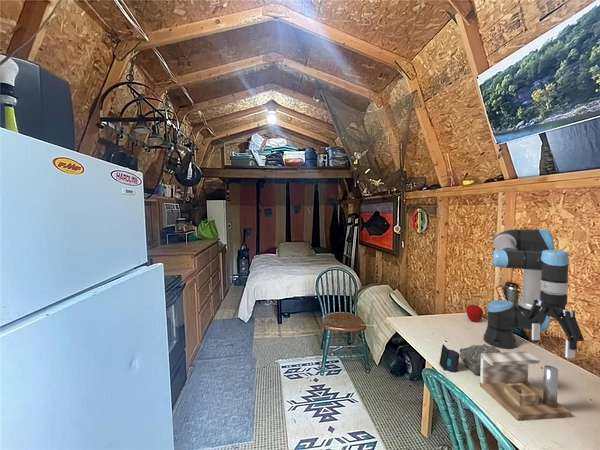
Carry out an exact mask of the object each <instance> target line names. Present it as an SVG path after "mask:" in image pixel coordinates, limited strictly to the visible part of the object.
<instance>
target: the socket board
mask: <svg viewBox="0 0 600 450" xmlns="http://www.w3.org/2000/svg"><path fill="white" fill-rule="evenodd" d="M533 364H535V365H536V364H540V359H539V358H537V357H535V356H534V355H532V354H531V353H529V352H528V351H507V352H501V353H483V354H481V371H480V374H479V375H480V378H479V379H480V381H479V387H480V388H481V389H483V390H484V391H485V392H486V393H487V394H488V395H489V396H490V397H491V398H492V399H494V400H495V402H497V403H498V404H499V405H500V406H501V407H502V408H503V409H504V410H506V412H508V413H509V414H510V415H511V416H512V417H513V418H514V419H516V420H517V421H519V422H520V421H530V420H531V421H533V420H548V419H550V420H551V419H564V418H571V411H570V410H568V409H567V408H566V407H564V406H563V405H562V404H560V403H559V402H557V407H556V408H552V407H549V406H547V405H545V404H544V403H543V391H542V390H540V389H539V388H537V387H536V386H535V385H533V384H532V383H531V382H529V365H533Z"/></svg>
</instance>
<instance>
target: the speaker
mask: <svg viewBox="0 0 600 450" xmlns="http://www.w3.org/2000/svg"><path fill="white" fill-rule="evenodd" d="M440 351H441V352H440V357H439V366H440V367H441V368H442V370H443V371H446V370H448V371H449V372H454V373H455V372H457V371H458V366H459V362H460V361H459V360H460V354H461V353H460V352H457V351H456V350H453V349H449V348H447V346H445V344H442V345H441V350H440Z"/></svg>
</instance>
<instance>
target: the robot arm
mask: <svg viewBox="0 0 600 450" xmlns="http://www.w3.org/2000/svg"><path fill="white" fill-rule="evenodd" d="M492 244H493V246H494V248H495V249H494V250H493V255H492V256H493V257H492V259H493V260H492V263H493V266H494V267H496V268H501V269H517V270H523V273H522V275H523V276H522V295H521V296H522V297H521V300H520V301H519V302H518V305H515V304H514V303H513V301H510V300H509V301H508V300H505V299H504V300H503V299H502V300H501V299H499V300H498V299H497V300H495V299H494V300H492V301H489V302H488V304H487V325H486V326H487V327H486V330H485V332H484V334H483V341H484V342H485V344H489V346H495V348H498V349H499V348H500V349H507V350H508V349H509V350H510V349H515V348H517V340H516V336H515V334H514V328H517V329H523V330H529V331H531V341H541V332H546V331H548V329H549V327H550V324H551V318H552V319H555V321H556V322H557V323H559V326H560V327H561V329H562V330H563V332H564V333H565V336H566V338H565V355H564V356H565V358H566V359H575V358H576V351H577V349H578V342H584V341H585V338H584V336H583V333H582V331H581V329H580V325H579V324H578V320H577V318H576V312H575V311H574V310H567V309H566V306H567V305H568V295H567V294H568V292H569V290H568V289H569V288H568V287H569V285H568V284H569V282H568V281H569V263H570V260H569V259H570V258H569V257H570V256H569V255H570V253H568V252H567V251H564V250H560V249H559V250H558V249H555V248H556V247H555V241H554V238H553V234H552V232H551V231H550V230H545V229H516V228H515V229H514V228H511V229H507V230H504V231H501V232H500V233H498V234H496V235H495V236H494V238H493V243H492Z"/></svg>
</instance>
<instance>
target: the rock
mask: <svg viewBox="0 0 600 450" xmlns="http://www.w3.org/2000/svg"><path fill="white" fill-rule="evenodd" d="M483 353H502V352H501V351H500V349H499V348H497V347H495V346H492V345H487V343H485V344H481V345H480V344H479V345H475V344H474V345H469V346H468V347H465V348H464V347H463V348H462V347H461V348H460V349H459V354H460V356H459V360H461V361H462V362H464V365H465V366H466V368H468V370H469V371H471V372H472V374H474V375H475V376H478V375H480V371H481V354H483Z"/></svg>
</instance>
